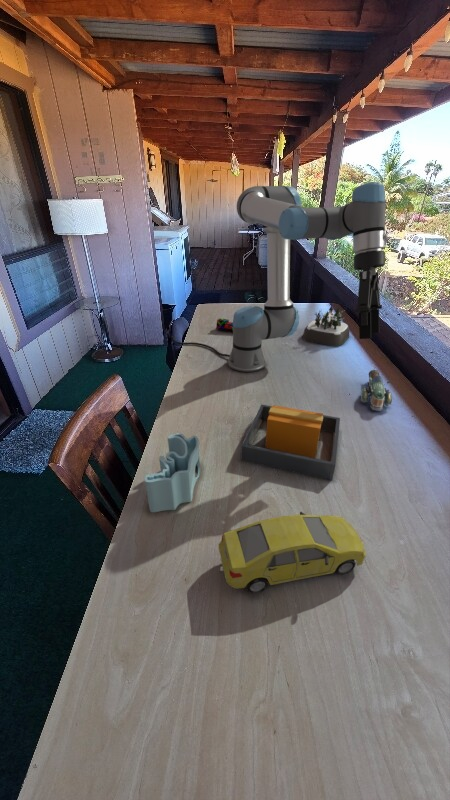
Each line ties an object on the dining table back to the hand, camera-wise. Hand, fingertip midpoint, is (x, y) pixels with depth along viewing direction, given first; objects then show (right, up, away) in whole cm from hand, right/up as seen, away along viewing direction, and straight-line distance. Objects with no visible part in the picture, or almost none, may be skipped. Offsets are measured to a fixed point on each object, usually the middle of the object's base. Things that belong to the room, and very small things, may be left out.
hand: (369, 335), depth 95 cm
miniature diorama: (+11, +14, +79) cm, 81 cm away
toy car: (-26, -50, -26) cm, 62 cm away
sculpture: (-29, +18, +86) cm, 92 cm away
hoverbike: (+14, -16, +30) cm, 37 cm away
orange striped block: (-20, -30, +6) cm, 37 cm away
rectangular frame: (-20, -30, +6) cm, 37 cm away
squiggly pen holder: (-51, -39, -8) cm, 65 cm away
